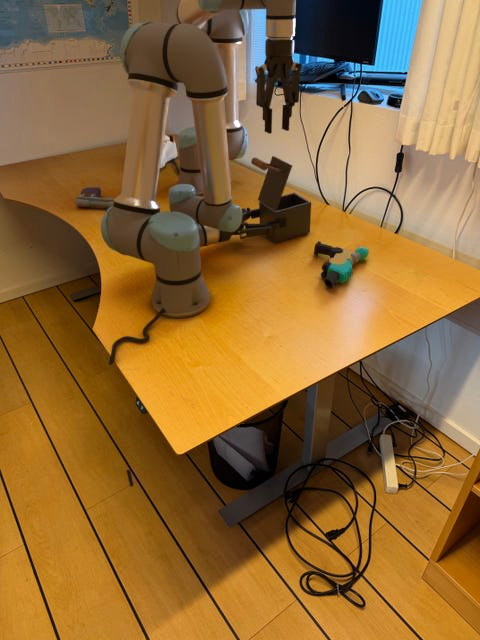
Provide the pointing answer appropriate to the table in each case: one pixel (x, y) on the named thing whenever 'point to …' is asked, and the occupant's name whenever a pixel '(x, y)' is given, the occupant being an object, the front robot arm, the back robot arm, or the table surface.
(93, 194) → the toy gun
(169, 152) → the sneaker
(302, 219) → the chest
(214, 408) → the table surface
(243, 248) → the table surface
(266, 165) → the lid
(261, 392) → the table surface
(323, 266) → the toy gun
